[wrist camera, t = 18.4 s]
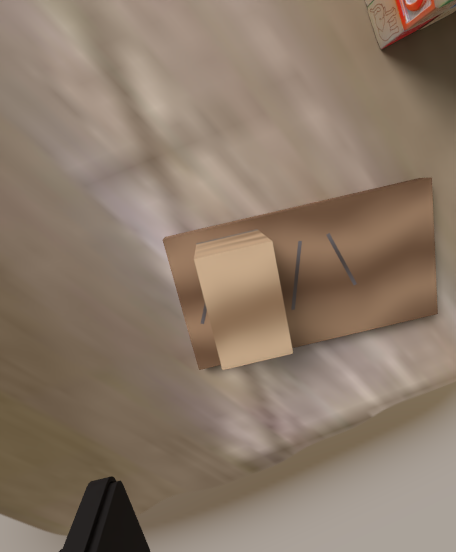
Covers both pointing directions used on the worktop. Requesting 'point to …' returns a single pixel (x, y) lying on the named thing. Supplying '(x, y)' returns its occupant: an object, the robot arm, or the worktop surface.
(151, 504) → the worktop surface
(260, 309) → the block
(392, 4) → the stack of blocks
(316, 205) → the board
